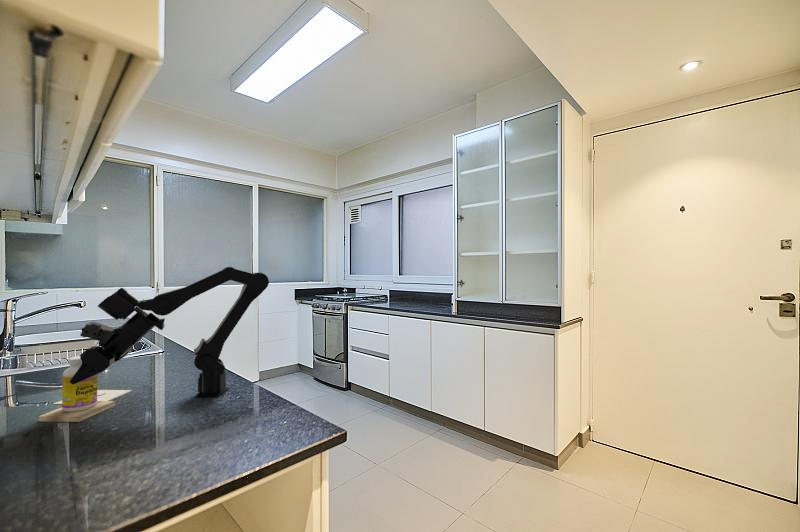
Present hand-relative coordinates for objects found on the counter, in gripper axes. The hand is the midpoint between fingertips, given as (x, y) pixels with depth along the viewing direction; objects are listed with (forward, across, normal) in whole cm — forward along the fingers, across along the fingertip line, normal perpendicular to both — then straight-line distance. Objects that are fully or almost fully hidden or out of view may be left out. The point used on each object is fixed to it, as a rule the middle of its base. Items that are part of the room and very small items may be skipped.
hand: (79, 377), depth 89 cm
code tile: (+7, -12, +6) cm, 15 cm away
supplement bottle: (+6, 0, +6) cm, 8 cm away
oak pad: (+6, 0, +6) cm, 9 cm away
